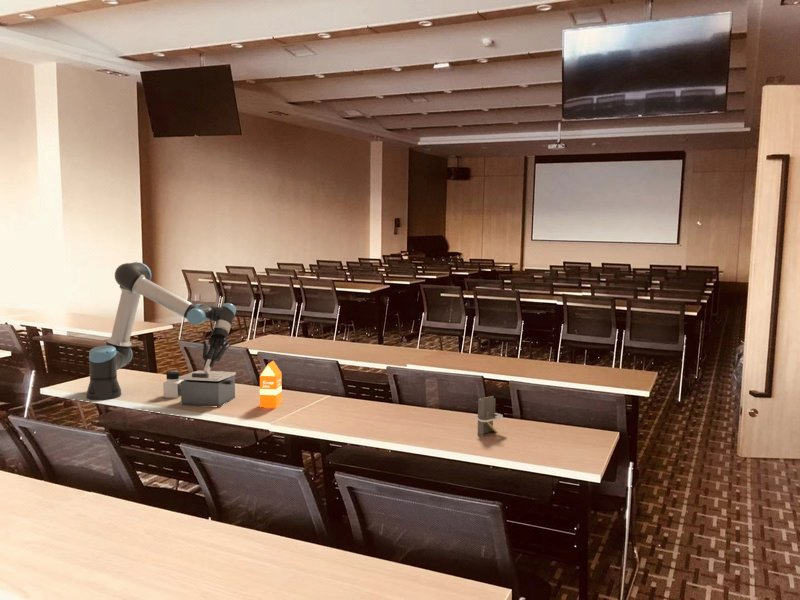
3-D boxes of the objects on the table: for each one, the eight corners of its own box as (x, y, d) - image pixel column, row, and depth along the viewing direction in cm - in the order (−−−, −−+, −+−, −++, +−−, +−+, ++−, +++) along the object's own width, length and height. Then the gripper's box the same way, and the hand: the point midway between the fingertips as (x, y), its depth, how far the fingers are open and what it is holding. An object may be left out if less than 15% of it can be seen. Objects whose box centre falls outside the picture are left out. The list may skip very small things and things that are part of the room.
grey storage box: (194, 395, 306) (194, 373, 305) (239, 398, 303) (239, 375, 302) (176, 405, 289) (175, 381, 288) (223, 407, 285) (223, 383, 284)
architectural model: (528, 434, 253) (529, 398, 251) (485, 447, 237) (486, 408, 235) (490, 423, 268) (491, 389, 266) (448, 434, 252) (448, 398, 250)
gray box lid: (199, 372, 306) (199, 366, 306) (236, 374, 304) (236, 368, 303) (178, 379, 286) (178, 373, 286) (218, 381, 283) (218, 375, 283)
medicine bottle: (178, 398, 302) (177, 373, 301) (163, 397, 302) (162, 372, 301) (183, 394, 309) (183, 370, 308) (169, 394, 309) (168, 369, 308)
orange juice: (282, 403, 294) (281, 360, 293) (276, 408, 286) (276, 364, 284) (265, 402, 295) (265, 360, 293) (259, 407, 286) (259, 363, 285)
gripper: (236, 336, 309) (222, 377, 294) (210, 335, 311) (195, 376, 296) (231, 327, 303) (216, 368, 288) (205, 326, 305) (189, 367, 290)
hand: (206, 372), depth 292 cm, fingers closed
